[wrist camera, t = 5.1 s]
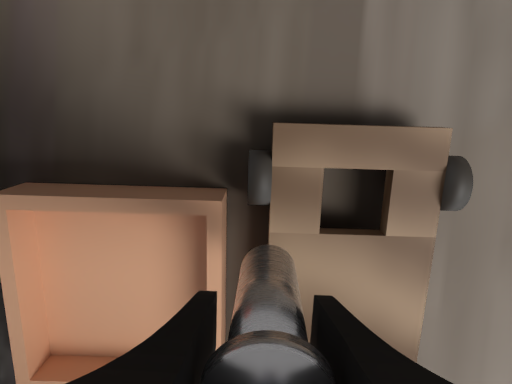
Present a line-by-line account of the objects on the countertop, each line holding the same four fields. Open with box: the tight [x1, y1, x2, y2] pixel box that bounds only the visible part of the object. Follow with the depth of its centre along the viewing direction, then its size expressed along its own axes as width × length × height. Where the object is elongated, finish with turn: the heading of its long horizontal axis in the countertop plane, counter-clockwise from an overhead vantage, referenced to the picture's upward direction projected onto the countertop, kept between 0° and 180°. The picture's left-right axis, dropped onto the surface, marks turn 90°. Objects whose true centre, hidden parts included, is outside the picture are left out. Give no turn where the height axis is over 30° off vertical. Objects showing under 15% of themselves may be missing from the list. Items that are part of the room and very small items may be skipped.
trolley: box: [248, 122, 473, 363], centre depth 20 cm, size 20×11×6 cm, turn 178°
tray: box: [0, 183, 227, 384], centre depth 21 cm, size 12×12×3 cm
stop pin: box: [200, 245, 336, 384], centre depth 12 cm, size 3×3×8 cm
